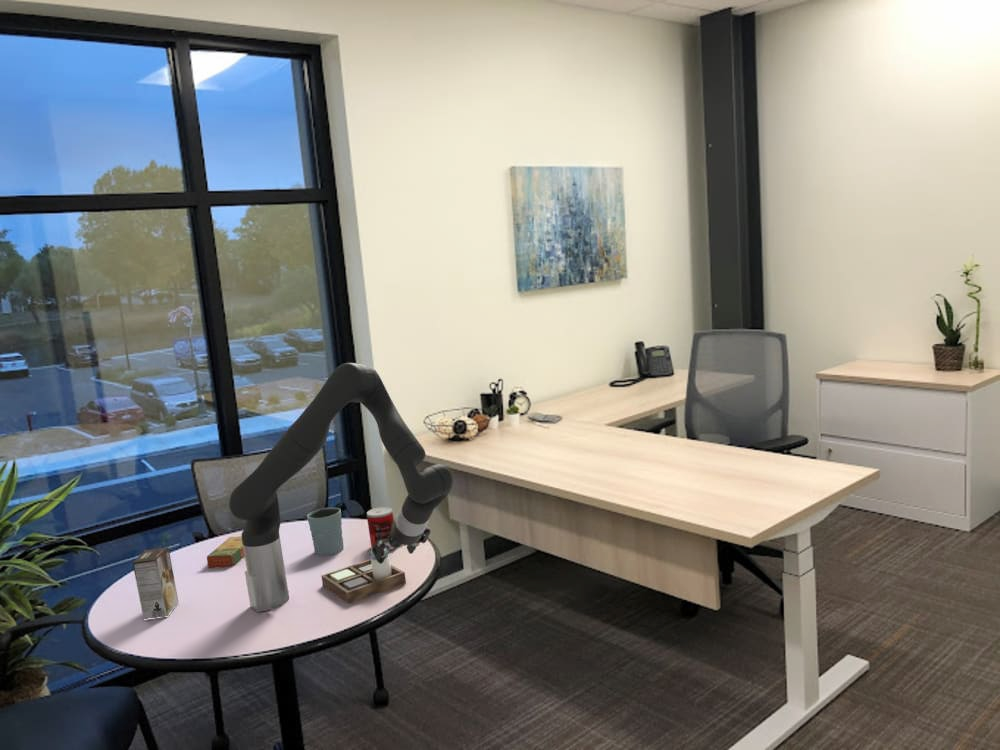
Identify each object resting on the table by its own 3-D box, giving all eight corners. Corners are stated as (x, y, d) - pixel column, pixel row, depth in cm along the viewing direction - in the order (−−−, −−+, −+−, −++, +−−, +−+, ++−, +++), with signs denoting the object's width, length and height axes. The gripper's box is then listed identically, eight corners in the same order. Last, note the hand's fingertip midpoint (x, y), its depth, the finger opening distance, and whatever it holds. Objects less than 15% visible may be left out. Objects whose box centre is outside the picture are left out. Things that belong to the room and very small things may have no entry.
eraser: (351, 598, 204) (349, 587, 204) (344, 594, 208) (343, 583, 207) (369, 592, 207) (367, 581, 207) (362, 588, 211) (360, 577, 210)
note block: (339, 590, 210) (337, 579, 210) (331, 585, 215) (330, 574, 214) (356, 584, 213) (355, 573, 213) (348, 579, 217) (347, 569, 217)
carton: (256, 547, 255) (254, 534, 254) (234, 568, 239) (231, 554, 238) (231, 549, 256) (229, 536, 255) (207, 569, 240) (205, 555, 239)
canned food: (384, 539, 248) (379, 505, 246) (402, 543, 243) (397, 508, 241) (365, 548, 242) (360, 513, 240) (383, 552, 237) (378, 516, 235)
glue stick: (379, 589, 208) (374, 554, 207) (371, 584, 212) (366, 550, 211) (396, 583, 211) (391, 549, 210) (387, 578, 215) (383, 544, 214)
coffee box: (155, 606, 215) (144, 549, 213) (179, 603, 216) (169, 546, 213) (142, 621, 206) (131, 562, 204) (168, 618, 207) (157, 558, 204)
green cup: (319, 559, 237) (313, 520, 235) (307, 550, 246) (302, 513, 244) (351, 549, 242) (345, 511, 240) (339, 541, 251) (333, 504, 249)
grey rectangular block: (365, 580, 215) (364, 571, 215) (359, 577, 218) (358, 568, 218) (381, 574, 218) (380, 565, 218) (376, 571, 221) (374, 562, 221)
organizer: (349, 605, 202) (347, 592, 201) (323, 588, 215) (321, 575, 215) (406, 584, 211) (404, 572, 210) (378, 569, 224) (376, 557, 224)
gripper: (429, 501, 198) (412, 535, 209) (377, 516, 190) (362, 551, 201) (443, 526, 194) (425, 559, 205) (391, 543, 186) (375, 576, 198)
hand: (394, 555), depth 203 cm, fingers open, 8 cm apart
